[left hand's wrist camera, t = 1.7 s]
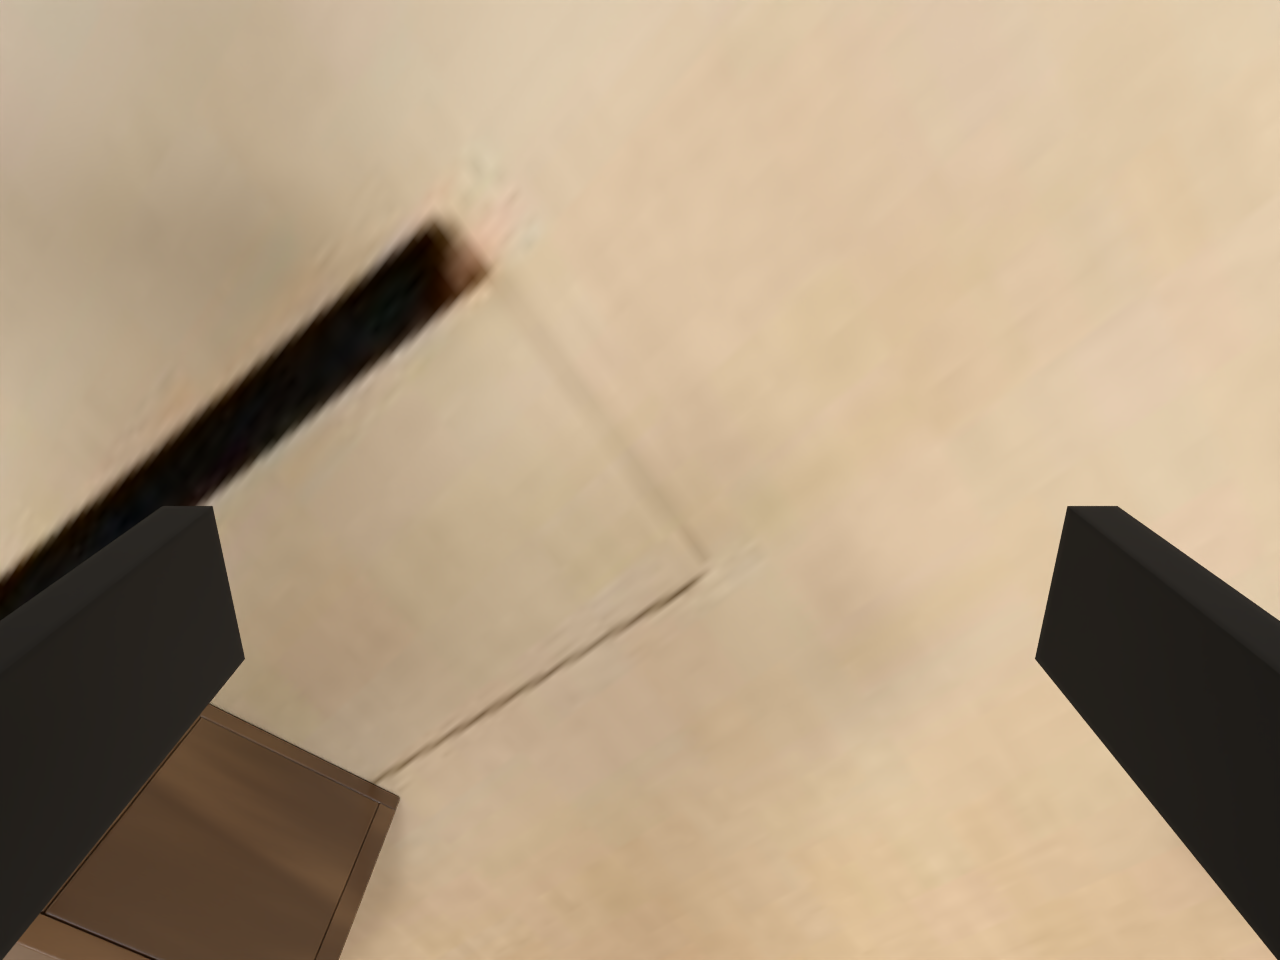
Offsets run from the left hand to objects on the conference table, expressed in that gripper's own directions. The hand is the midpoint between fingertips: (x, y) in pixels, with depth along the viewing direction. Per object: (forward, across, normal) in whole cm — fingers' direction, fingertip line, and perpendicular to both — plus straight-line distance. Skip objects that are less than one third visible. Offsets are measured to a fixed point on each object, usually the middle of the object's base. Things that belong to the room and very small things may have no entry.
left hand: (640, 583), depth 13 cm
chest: (+16, -18, -22) cm, 33 cm away
